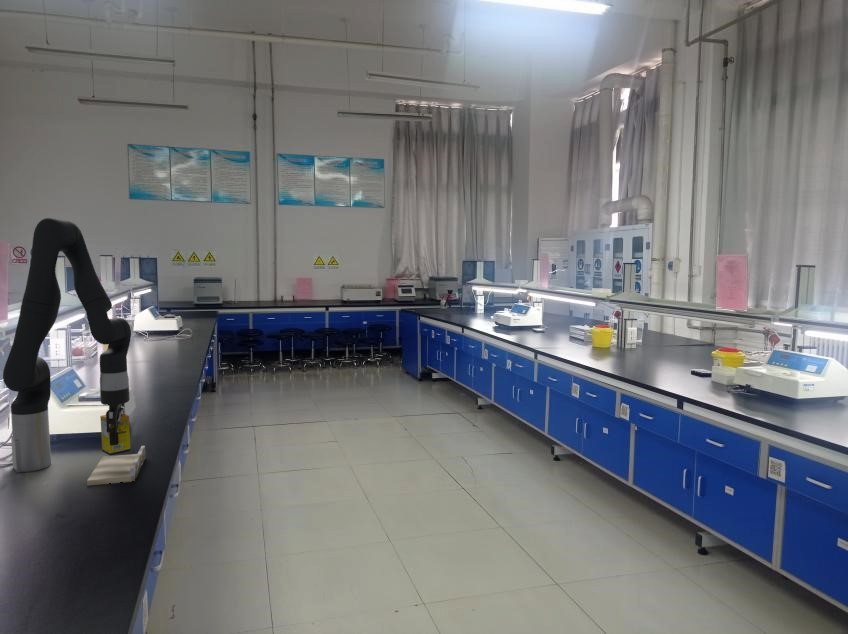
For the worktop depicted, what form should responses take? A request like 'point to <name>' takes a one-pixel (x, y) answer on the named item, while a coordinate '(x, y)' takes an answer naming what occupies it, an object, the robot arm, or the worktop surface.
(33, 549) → the worktop surface
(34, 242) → the robot arm
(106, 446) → the supplement box
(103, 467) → the cream serving tray
